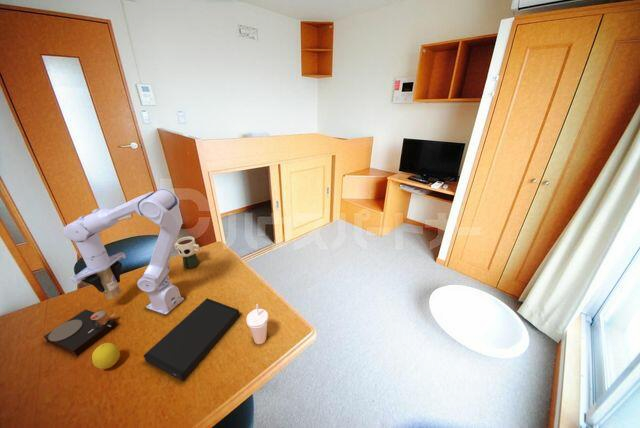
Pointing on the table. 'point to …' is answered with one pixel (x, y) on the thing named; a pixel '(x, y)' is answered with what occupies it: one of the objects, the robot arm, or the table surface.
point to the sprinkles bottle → (109, 283)
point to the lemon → (105, 355)
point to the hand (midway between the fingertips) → (109, 286)
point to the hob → (83, 334)
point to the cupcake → (99, 319)
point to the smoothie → (258, 324)
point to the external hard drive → (192, 339)
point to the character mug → (188, 251)
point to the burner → (65, 330)
